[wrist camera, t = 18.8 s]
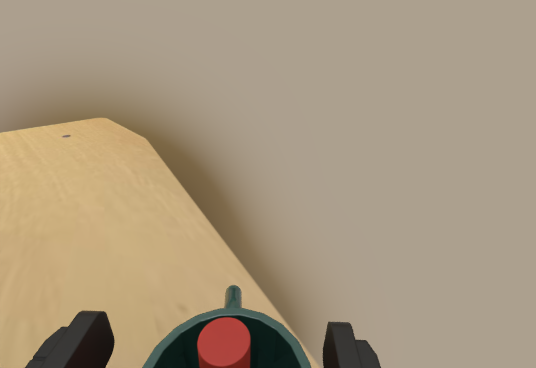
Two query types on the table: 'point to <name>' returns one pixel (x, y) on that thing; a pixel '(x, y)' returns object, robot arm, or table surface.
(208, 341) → the marker
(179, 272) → the table surface
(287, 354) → the mug
